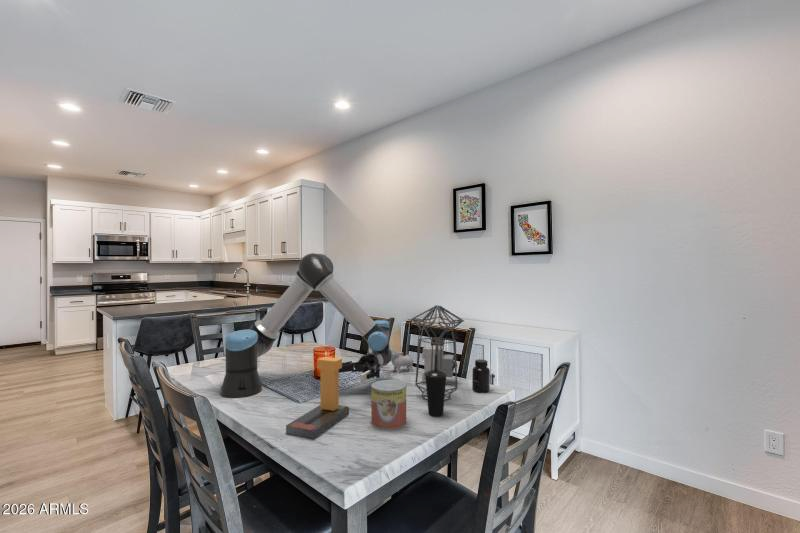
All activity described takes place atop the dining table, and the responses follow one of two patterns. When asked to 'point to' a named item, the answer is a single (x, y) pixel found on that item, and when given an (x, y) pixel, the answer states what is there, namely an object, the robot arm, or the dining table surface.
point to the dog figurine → (401, 361)
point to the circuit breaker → (447, 361)
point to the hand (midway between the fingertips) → (344, 376)
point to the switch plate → (316, 422)
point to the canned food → (388, 404)
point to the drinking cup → (435, 390)
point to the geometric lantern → (440, 309)
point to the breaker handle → (329, 382)
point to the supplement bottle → (481, 377)
